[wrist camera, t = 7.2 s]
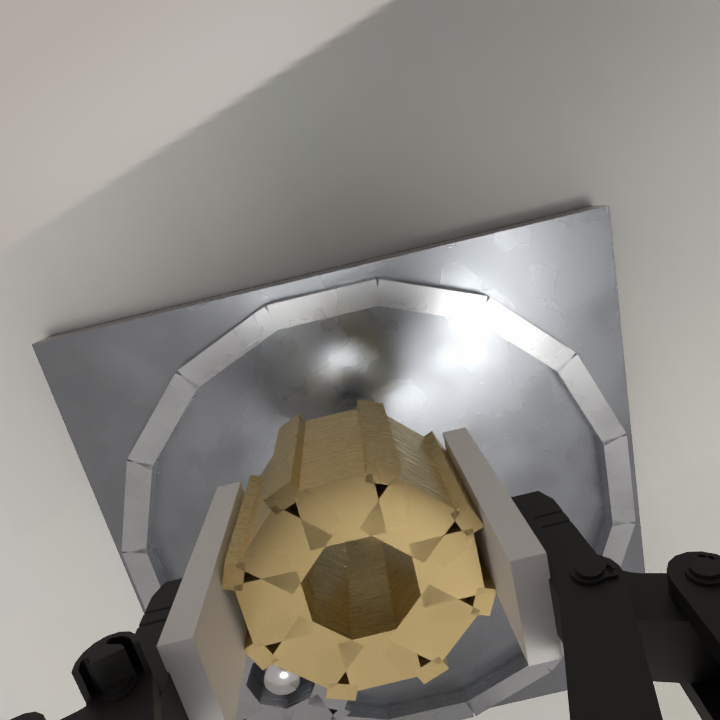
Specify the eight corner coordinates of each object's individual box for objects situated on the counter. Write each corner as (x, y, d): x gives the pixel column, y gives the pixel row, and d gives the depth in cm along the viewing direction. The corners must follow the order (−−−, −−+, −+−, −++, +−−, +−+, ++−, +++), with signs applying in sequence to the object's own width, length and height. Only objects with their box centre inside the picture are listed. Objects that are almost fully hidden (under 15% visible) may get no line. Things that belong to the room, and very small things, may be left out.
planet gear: (282, 603, 19) (268, 721, 14) (226, 431, 17) (191, 505, 13) (468, 559, 19) (510, 663, 14) (431, 381, 17) (467, 438, 13)
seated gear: (197, 585, 27) (171, 659, 22) (314, 526, 26) (311, 590, 22) (266, 677, 28) (255, 762, 24) (377, 624, 28) (386, 701, 23)
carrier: (49, 336, 24) (-38, 376, 19) (592, 205, 24) (674, 205, 18) (215, 745, 31) (189, 867, 26) (639, 648, 31) (709, 749, 25)
